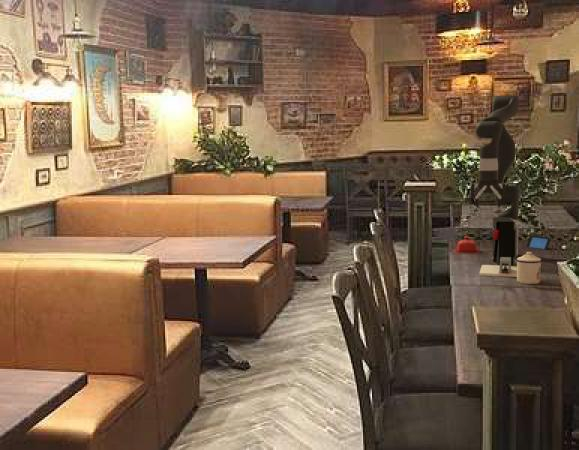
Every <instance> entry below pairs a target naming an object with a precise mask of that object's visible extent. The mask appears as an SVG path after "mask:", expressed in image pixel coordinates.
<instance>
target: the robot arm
mask: <svg viewBox="0 0 579 450" xmlns="http://www.w3.org/2000/svg"><path fill="white" fill-rule="evenodd" d="M491 106H492V112H491V113H490V114H489V115H488V116H487V117H485V118H483V119H481V120H480V121H479V122H478V123H477V124H476V127H475V134H476V136H477V137H478V138H479V139H491V141H490V142H489V143H484V144H482V145H480V148H479V165H478V170H479V173H478V175H479V176H478V177H479V178H478V183H475V182H472V184H471V188H470V189H471V190H470V197H471V198H473V199H474V201H475V204H474V205H475V207H476V209H477V208H480V205H479V204H480V200H479V197H480V196H481V195H482V194H494V200H495V203H496V205H497V208H498V209H499V208H501V207H502V205H503V206H510V208H509V209H507V210H504V211H501V212H499V213H497V217H510V218H512V219H513V220H515V223H518V224H519V207H520V196H521V195H520V188H519V186H518V185H515V184H514V185H512V184H511V185H510V184H509V185H507V184H506V182H504V178H505V176H506V175H507V172H508V171H509V170H510V168H511V167H512V166H513V163H514V162H515V160H516V143H515V140H514V139H513V137H512V136H511V134H510V133H509V132H508V130H507V128H506V127H505V123H506V122H507V121H508V120H509V119H512V118H513V117H514V116H515V115H517V114H518V112H519V107H520V102H519V98H518V96H516V95H514V94H506V95H496V96H495V95H494V97H493V99H492V105H491ZM477 187H478V188H479V189H480V190H479V191H478V193H477V194H475V189H477ZM518 253H519V227H518V228H517V257H519V255H518Z"/></svg>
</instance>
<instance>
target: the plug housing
mask: <svg viewBox="0 0 579 450" xmlns="http://www.w3.org/2000/svg"><path fill="white" fill-rule="evenodd" d="M503 263H505V264H508V273H511V257H500V273H502V270H503Z"/></svg>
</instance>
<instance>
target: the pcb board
mask: <svg viewBox="0 0 579 450" xmlns="http://www.w3.org/2000/svg"><path fill="white" fill-rule="evenodd" d="M503 269H504V266H503ZM478 275H479V276H486V277H487V276H488V277H491V276H492V277H513V278H514V277H515V278H517V265H515V266H511V273H508V266H507V273H503V270H502V273H500V265H497V264H496V265H494V264H493V265H492V264H481V267H480V270H479V273H478Z"/></svg>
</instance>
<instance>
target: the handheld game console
mask: <svg viewBox="0 0 579 450" xmlns="http://www.w3.org/2000/svg"><path fill="white" fill-rule="evenodd" d="M550 242H551V238H550V237H545V236H537V235H531V236H529V238H528V241H527V243H526V246H525V247H526V248H528V247H531V248H530V249H536V248H538V250H545V251H546V250H548V248H549V245H550V244H551V243H550Z"/></svg>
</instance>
